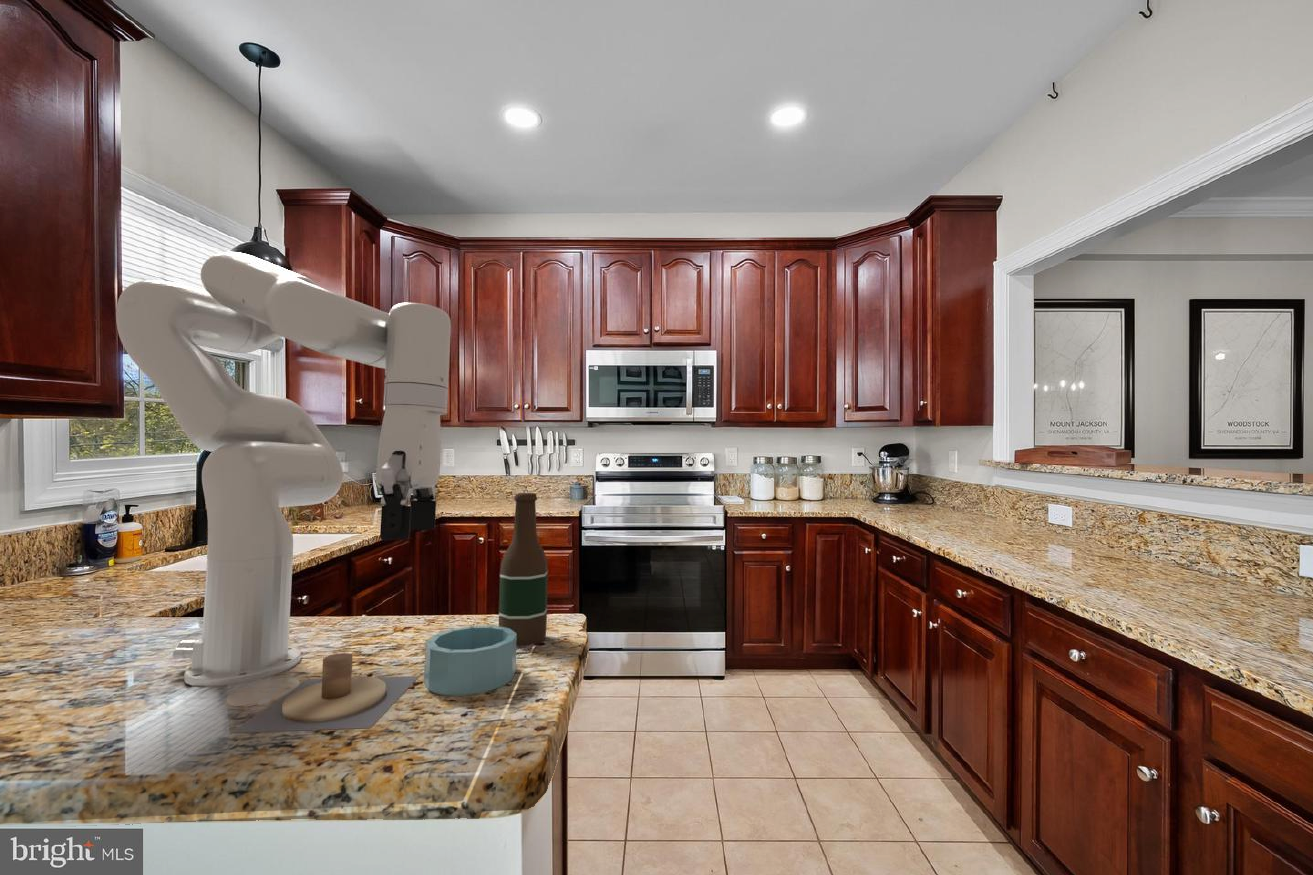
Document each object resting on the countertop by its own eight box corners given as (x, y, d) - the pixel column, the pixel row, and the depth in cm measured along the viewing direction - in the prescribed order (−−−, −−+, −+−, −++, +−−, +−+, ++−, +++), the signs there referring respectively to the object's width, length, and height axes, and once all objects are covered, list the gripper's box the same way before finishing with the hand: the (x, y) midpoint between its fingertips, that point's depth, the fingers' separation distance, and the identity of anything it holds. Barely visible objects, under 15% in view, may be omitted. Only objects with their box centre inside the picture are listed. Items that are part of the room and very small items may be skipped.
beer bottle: (555, 636, 87) (558, 492, 89) (530, 651, 80) (533, 494, 81) (516, 631, 90) (519, 491, 91) (487, 645, 82) (491, 493, 84)
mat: (229, 736, 54) (229, 732, 54) (308, 682, 68) (308, 679, 68) (370, 731, 55) (370, 727, 55) (419, 679, 69) (419, 675, 69)
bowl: (411, 700, 63) (413, 653, 63) (441, 666, 74) (442, 626, 74) (505, 697, 64) (506, 651, 64) (520, 663, 75) (521, 624, 75)
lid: (259, 724, 56) (262, 676, 56) (314, 684, 66) (316, 644, 66) (361, 720, 57) (362, 673, 57) (399, 681, 67) (400, 641, 67)
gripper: (409, 407, 76) (403, 526, 74) (355, 390, 58) (346, 544, 57) (462, 409, 76) (457, 527, 75) (424, 393, 59) (417, 544, 58)
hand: (409, 534), depth 66 cm, fingers open, 9 cm apart
